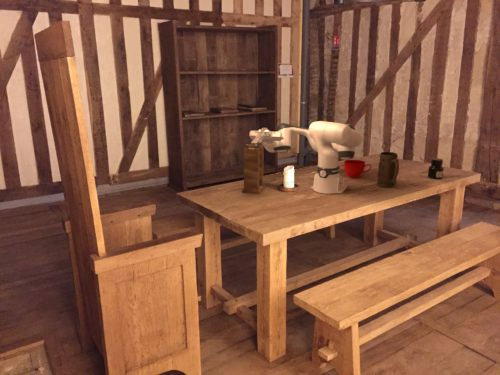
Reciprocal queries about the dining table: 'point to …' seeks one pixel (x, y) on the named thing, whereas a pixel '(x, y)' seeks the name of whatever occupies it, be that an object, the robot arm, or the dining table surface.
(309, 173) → the dining table surface
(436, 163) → the ink bottle
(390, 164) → the beer stein
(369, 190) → the dining table surface
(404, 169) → the dining table surface
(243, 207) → the dining table surface
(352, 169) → the ceramic cup
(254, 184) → the knife block
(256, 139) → the brushed square bar end
